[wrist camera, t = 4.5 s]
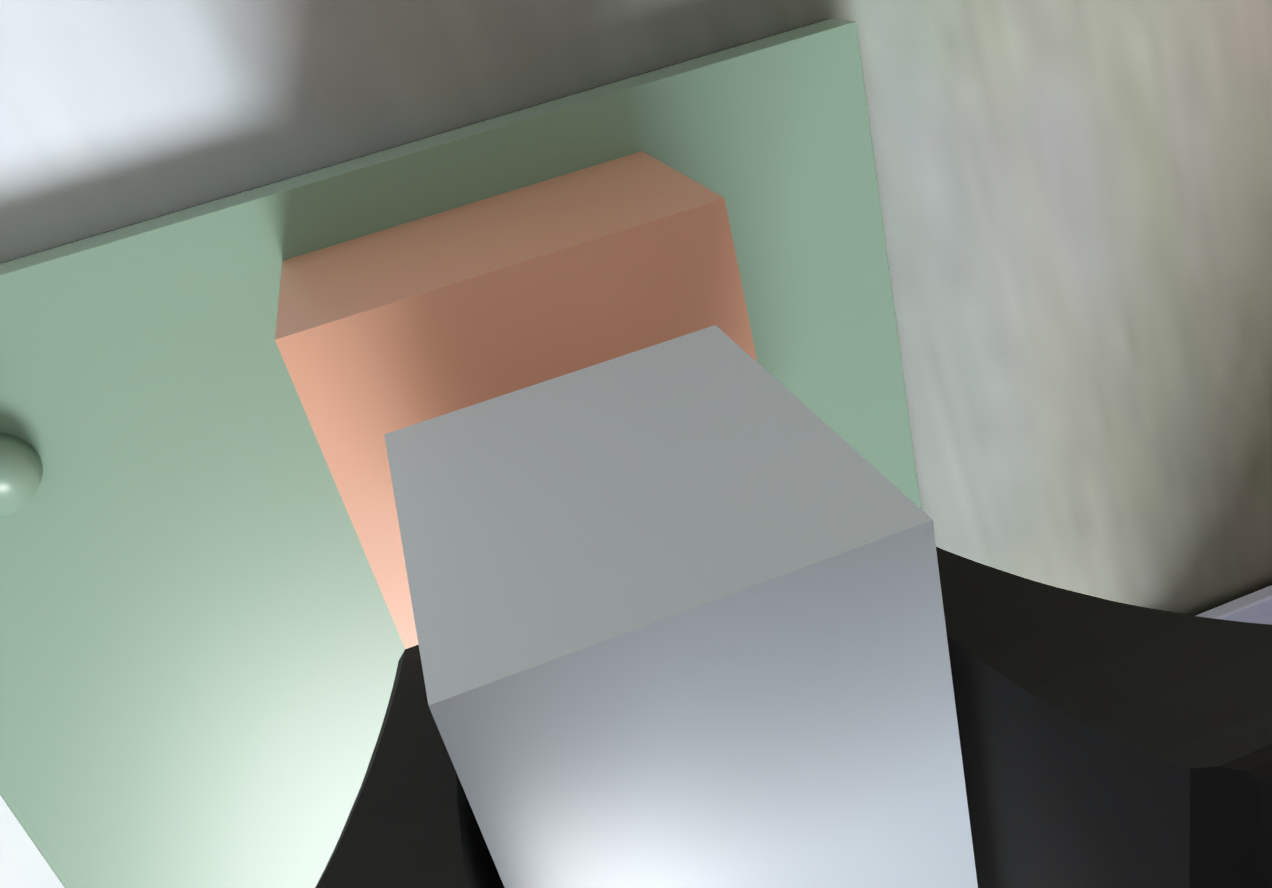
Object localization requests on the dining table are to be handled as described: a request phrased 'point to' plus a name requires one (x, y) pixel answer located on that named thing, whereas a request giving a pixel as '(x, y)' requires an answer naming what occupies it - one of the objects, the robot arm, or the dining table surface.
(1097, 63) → the dining table surface
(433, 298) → the terracotta brick
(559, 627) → the white brick
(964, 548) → the dining table surface
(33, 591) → the building board
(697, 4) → the dining table surface
